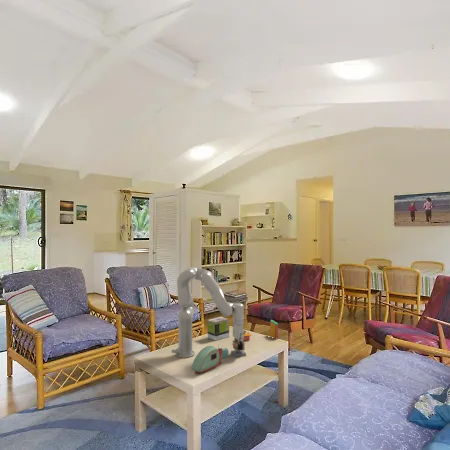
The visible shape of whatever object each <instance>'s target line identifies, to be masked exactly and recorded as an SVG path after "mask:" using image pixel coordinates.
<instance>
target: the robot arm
mask: <svg viewBox="0 0 450 450" xmlns="http://www.w3.org/2000/svg"><path fill="white" fill-rule="evenodd" d="M193 280H195V281H200V283H201V284H202V285H203V287H204V288H205V290H206V291H207V293H208V294H209V295H210V297H211V299H212V301H213V303H214V305H215V306H216V307H217V309H218V310H219V313H221V315H222V316H223V317H225V318H227V317H228V318H229V317H230V316H231V315H232V337H233V338H234V339H233V341H235V340H238V343H239V344H238V350H242V349H243V342H245V341H244V340H243V339H244V330H245V329H244V324H245V314H244V313H245V310H244V309H245V307H244V306H245V305H244V304H243V303H241V302H240V303H239V302H237V303H233V302H227V300H226V298H225V296H224V293H223V290H222V288H221V287H220V285H219V284H218V283H217V281H216V280H215V278H214V275H213V272H211V271H210V270H207V269H204V268H199V267H196V266H195V267H194V266H190V267H188V268H187V269H185V270H183V271H182V272H180V274H179V275H178V277H177V280H176V281H177V283H176V287H177V290H176V291H177V302H178V305H179V306H180V311H179V313H178V315H177V321H178V322H177V323H178V347H177V348H175V349H171V353H173V354H176V355H175V356H177V357H178V358H183V359H184V358H185V359H186V358H191V357H194V355H195V351H194V350H193V317H194V314H195V303H194V295H193V294H192V292H191V289H190V282H192V281H193ZM239 338H241V339H239ZM240 340H241V341H240Z"/></svg>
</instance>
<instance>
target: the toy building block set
mask: <svg viewBox="0 0 450 450" xmlns="http://www.w3.org/2000/svg"><path fill="white" fill-rule="evenodd" d="M251 336H252V334H250V332H248V331H246V330H245V329H244V339H243V340H244V341H243V342H245V341H250V338H251ZM269 336H271V337H272V338H274V339H275V340H278V339H279V323H278V322H276V321H275V320H273V319H270V322H269ZM239 339H241V338H239Z"/></svg>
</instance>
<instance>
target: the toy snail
mask: <svg viewBox="0 0 450 450" xmlns="http://www.w3.org/2000/svg"><path fill="white" fill-rule="evenodd" d="M217 347H218V348H217ZM217 347H216V346H213V345H207V346H206V347H203V348H202V349H201V350H200V351H199V352H197V353H196V356H195V358H194V359H193V361H192V364H191V369H192V370H193V371H195V372H194V374H198V375H201V373H202V374H204V373H207V372H210V371H211V370H213V369H215V368H217V367H219V366H220V365H221V363H222V357H221V355H222V353H223V349H222V348H224V346H223V345H222V346H221V347H219V345H217ZM194 374H193V375H194Z"/></svg>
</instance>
